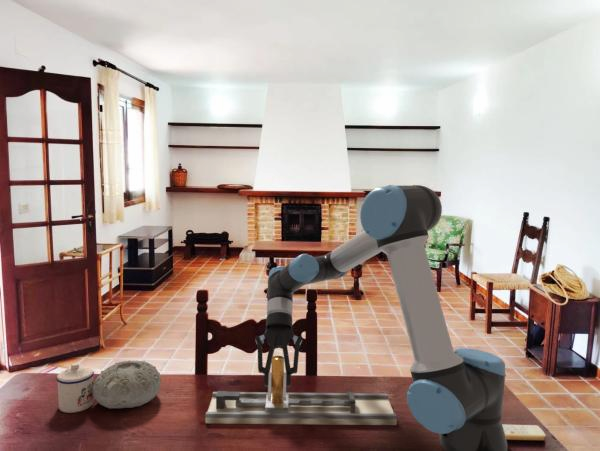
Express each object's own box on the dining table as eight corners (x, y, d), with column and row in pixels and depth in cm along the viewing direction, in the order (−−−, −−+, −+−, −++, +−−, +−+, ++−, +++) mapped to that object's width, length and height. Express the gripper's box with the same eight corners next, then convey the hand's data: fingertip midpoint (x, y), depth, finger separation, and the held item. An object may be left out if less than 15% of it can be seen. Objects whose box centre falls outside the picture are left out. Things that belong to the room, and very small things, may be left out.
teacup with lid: (82, 415, 123) (81, 372, 121) (50, 412, 124) (48, 370, 122) (106, 393, 134) (105, 354, 133) (77, 391, 136) (75, 352, 134)
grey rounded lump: (150, 418, 122) (149, 382, 121) (81, 417, 122) (79, 380, 120) (168, 386, 140) (168, 354, 138) (108, 385, 139) (107, 353, 138)
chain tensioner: (353, 399, 130) (355, 353, 128) (356, 412, 123) (358, 364, 122) (237, 398, 129) (237, 352, 128) (234, 411, 122) (234, 363, 121)
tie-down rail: (386, 401, 133) (387, 385, 132) (396, 425, 121) (397, 406, 121) (213, 400, 132) (213, 383, 131) (205, 423, 120) (205, 404, 119)
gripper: (307, 322, 139) (307, 403, 125) (252, 322, 139) (246, 403, 125) (308, 311, 133) (308, 394, 119) (250, 310, 133) (244, 393, 119)
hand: (276, 398), depth 122 cm, fingers closed on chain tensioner, 3 cm apart
